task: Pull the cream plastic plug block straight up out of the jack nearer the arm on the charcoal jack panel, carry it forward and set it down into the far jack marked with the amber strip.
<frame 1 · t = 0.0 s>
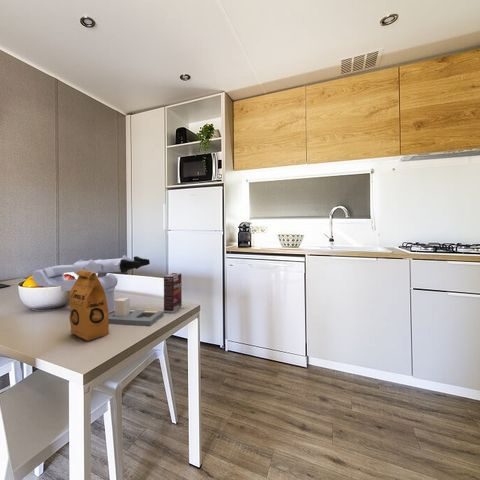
hand: (144, 263, 103), 22 cm above the table, tool horizontal, fingers open, 7 cm apart
plug block: (122, 318, 98), resting in jack panel
jack panel: (134, 319, 97), on the table
coffee package: (90, 334, 83), on the table
supplement box: (173, 310, 108), on the table
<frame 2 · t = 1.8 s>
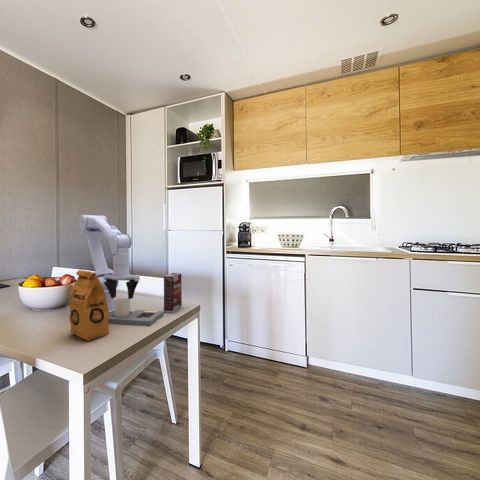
hand: (122, 298, 97), 8 cm above the table, tool pointing down, fingers open, 7 cm apart
nothing on the table moved.
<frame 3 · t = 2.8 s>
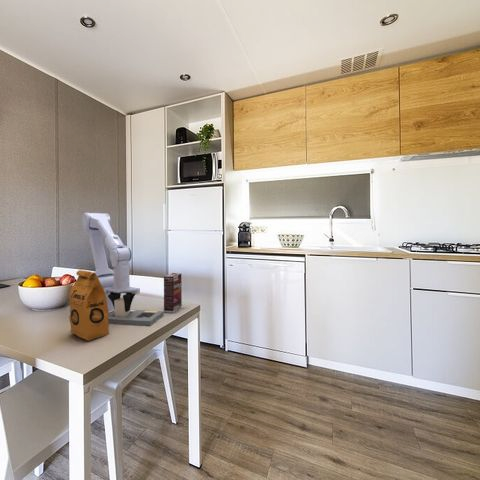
hand: (122, 310, 98), 3 cm above the table, tool pointing down, fingers closed on plug block, 4 cm apart
plug block: (122, 318, 98), resting in jack panel, touching gripper
everything else where it was.
when the fingers open (4 cm above the table, at t = 6.5 s): plug block drops 1 cm, resting in jack panel.
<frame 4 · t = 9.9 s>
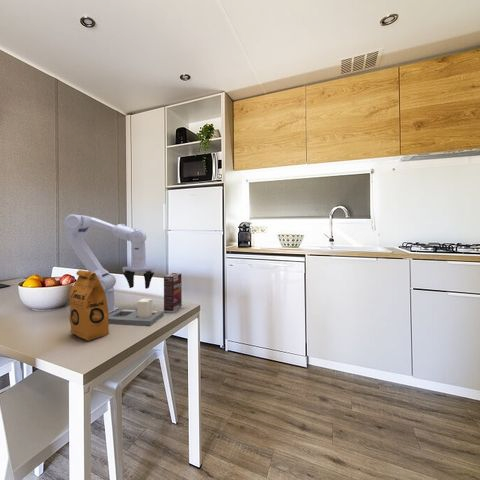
hand: (139, 287, 108), 10 cm above the table, tool pointing down, fingers open, 7 cm apart
plug block: (145, 319, 96), resting in jack panel
everything else where it was.
at the end: plug block 0.1 cm from the target spot on the jack panel, point 0.0 cm above the jack panel's base; plug block tilted 0°; the gripper is holding nothing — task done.
